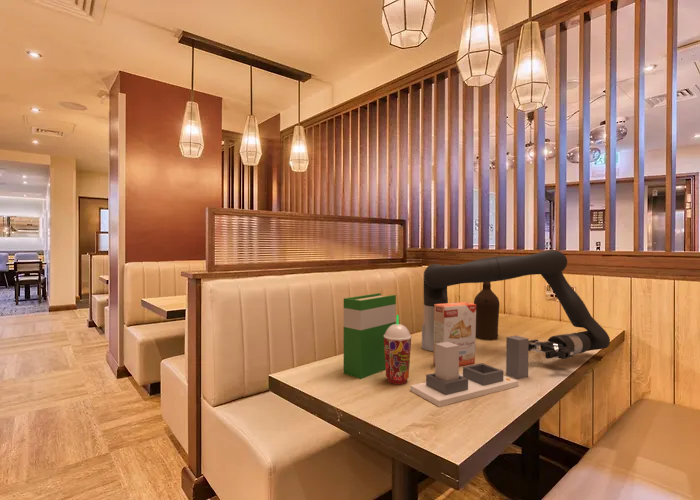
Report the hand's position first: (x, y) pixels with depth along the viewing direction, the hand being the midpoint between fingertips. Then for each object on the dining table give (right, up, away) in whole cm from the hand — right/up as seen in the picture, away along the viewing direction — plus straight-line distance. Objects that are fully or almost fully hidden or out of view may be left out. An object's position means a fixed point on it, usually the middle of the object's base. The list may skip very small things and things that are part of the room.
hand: (534, 351), depth 124 cm
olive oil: (0, -6, +44) cm, 45 cm away
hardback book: (-53, -7, +2) cm, 53 cm away
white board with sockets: (-27, -7, -14) cm, 31 cm away
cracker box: (-24, -6, +8) cm, 26 cm away
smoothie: (-45, -7, -8) cm, 47 cm away
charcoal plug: (-7, -6, -4) cm, 11 cm away
